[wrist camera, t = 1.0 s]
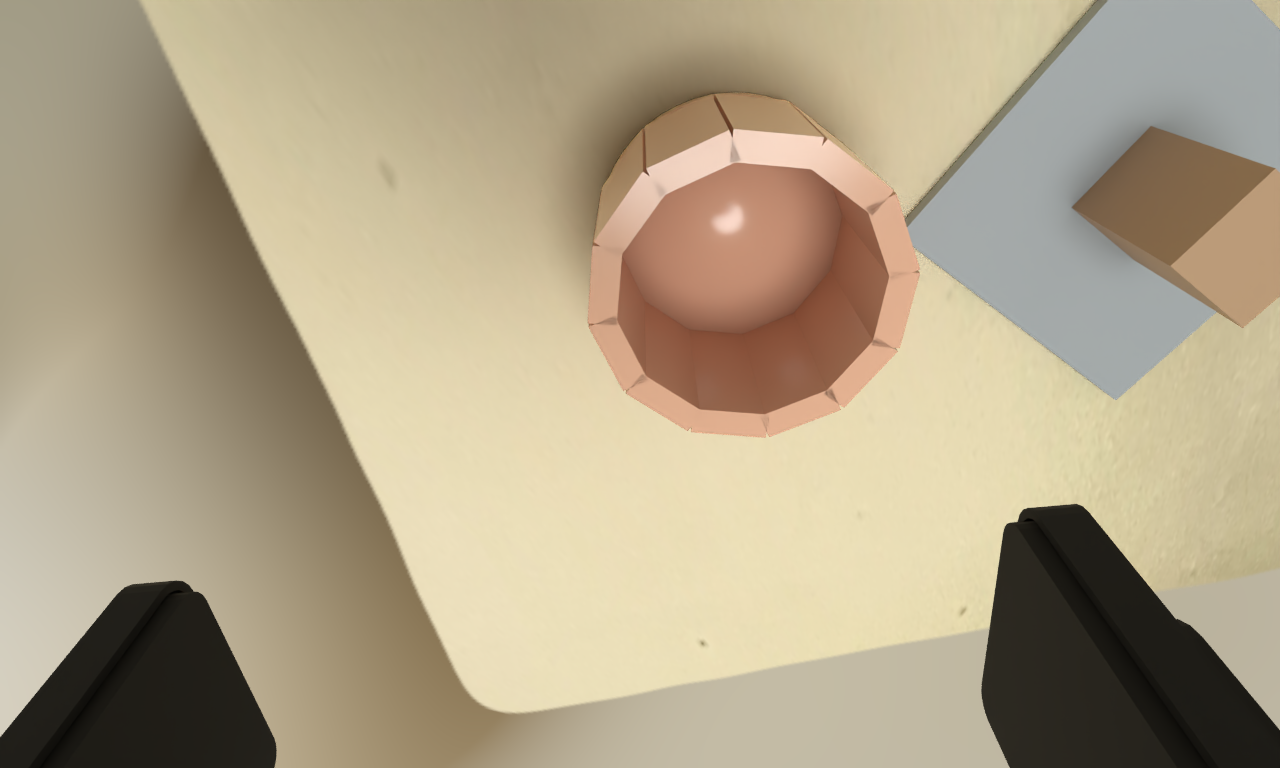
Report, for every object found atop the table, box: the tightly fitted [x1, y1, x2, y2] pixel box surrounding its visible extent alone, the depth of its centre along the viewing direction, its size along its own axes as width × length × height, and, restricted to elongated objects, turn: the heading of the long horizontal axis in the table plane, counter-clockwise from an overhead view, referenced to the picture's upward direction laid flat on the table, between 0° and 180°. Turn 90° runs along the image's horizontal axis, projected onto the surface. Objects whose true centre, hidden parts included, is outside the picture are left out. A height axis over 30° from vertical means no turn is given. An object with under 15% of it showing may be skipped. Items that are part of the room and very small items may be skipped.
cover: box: [905, 0, 1280, 400], centre depth 30 cm, size 14×14×8 cm
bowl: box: [588, 92, 920, 438], centre depth 30 cm, size 11×11×8 cm
